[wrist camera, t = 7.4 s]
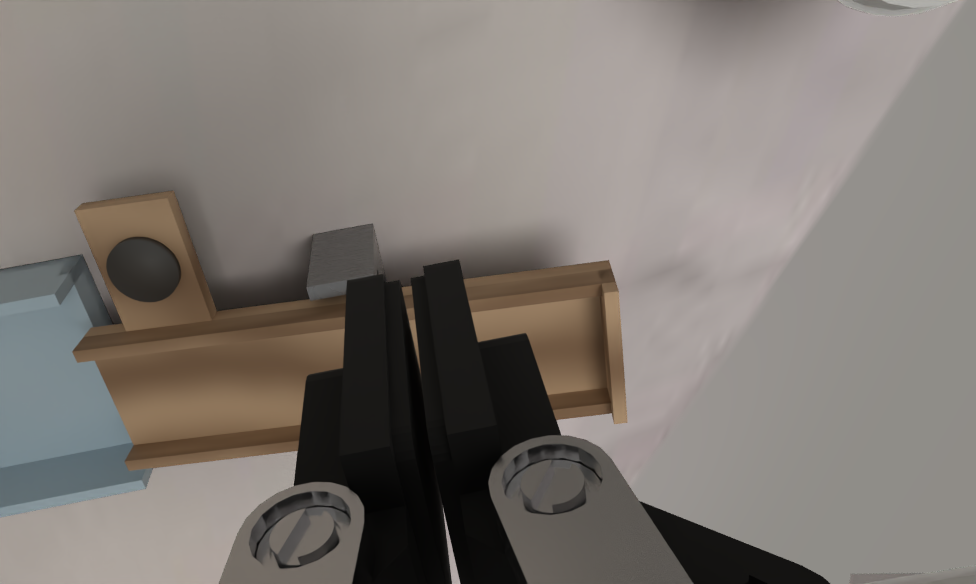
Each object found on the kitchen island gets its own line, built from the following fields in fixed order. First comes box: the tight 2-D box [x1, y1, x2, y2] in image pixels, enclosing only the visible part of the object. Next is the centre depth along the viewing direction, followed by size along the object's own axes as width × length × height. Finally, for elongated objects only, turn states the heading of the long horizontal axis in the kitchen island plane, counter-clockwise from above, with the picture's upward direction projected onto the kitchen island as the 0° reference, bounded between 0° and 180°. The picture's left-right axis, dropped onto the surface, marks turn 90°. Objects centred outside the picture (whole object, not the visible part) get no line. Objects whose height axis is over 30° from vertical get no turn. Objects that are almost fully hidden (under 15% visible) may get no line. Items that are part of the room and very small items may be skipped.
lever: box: [72, 191, 627, 471], centre depth 36 cm, size 13×24×4 cm, turn 98°
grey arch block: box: [306, 224, 386, 301], centre depth 40 cm, size 9×3×6 cm, turn 8°
